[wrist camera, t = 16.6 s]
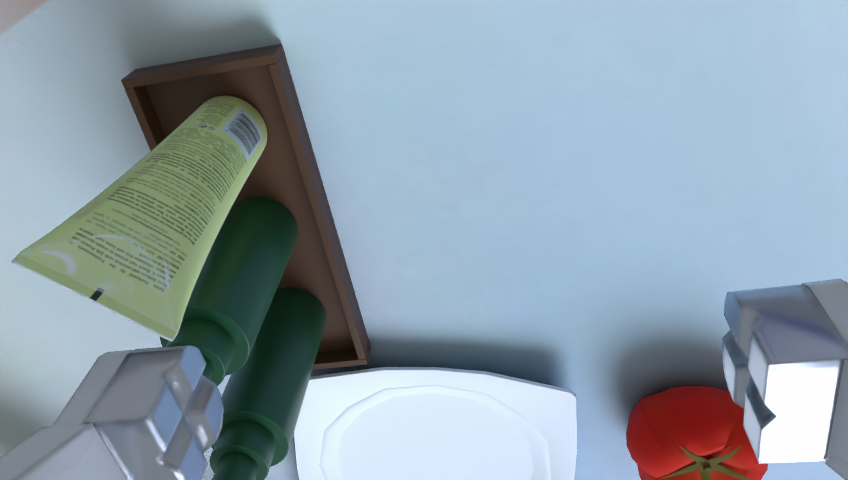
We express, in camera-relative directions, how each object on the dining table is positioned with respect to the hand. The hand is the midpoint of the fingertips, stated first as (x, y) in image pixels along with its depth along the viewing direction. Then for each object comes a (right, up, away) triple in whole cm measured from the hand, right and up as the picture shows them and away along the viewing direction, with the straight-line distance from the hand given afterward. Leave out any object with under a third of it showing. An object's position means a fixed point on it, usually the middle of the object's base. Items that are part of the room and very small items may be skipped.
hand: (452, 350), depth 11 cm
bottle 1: (-12, +3, +40) cm, 42 cm away
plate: (+1, -18, +53) cm, 56 cm away
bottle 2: (-11, -4, +45) cm, 46 cm away
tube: (-13, +9, +37) cm, 40 cm away
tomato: (+22, -13, +48) cm, 54 cm away
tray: (-12, +3, +41) cm, 43 cm away
